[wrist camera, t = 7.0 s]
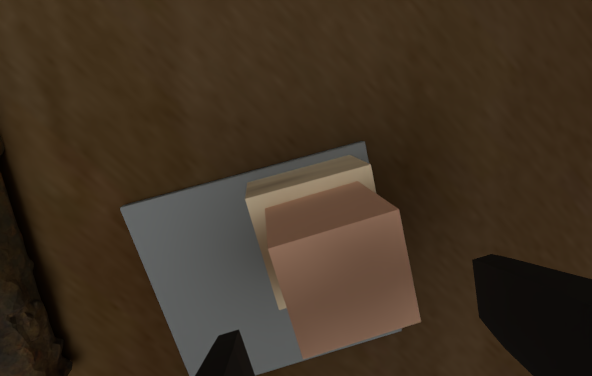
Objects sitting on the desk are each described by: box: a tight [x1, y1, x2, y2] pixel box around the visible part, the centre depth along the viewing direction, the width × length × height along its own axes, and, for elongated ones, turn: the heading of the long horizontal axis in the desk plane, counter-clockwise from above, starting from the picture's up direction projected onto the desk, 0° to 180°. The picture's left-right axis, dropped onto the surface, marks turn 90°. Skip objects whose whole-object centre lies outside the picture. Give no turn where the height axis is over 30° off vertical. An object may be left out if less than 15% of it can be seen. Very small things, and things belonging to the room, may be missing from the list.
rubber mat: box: [120, 141, 402, 376], centre depth 20 cm, size 13×14×1 cm
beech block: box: [245, 155, 376, 310], centre depth 17 cm, size 6×6×4 cm
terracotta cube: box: [265, 181, 421, 360], centre depth 13 cm, size 4×4×4 cm
